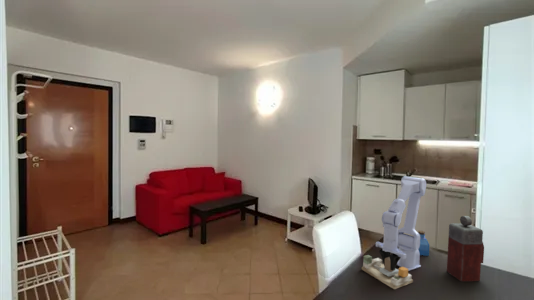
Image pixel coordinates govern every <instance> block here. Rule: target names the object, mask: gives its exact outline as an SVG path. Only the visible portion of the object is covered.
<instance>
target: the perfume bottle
mask: <svg viewBox="0 0 534 300" xmlns="http://www.w3.org/2000/svg"><path fill="white" fill-rule="evenodd" d="M417 232H418V233H419V235H420V247H419V249H418V250H419V253H420V256H422V255H423V256H425V257H430V243H429V241H428V239H427V238H426V232H425V231H423V230H418V231H417Z"/></svg>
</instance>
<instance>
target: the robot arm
mask: <svg viewBox="0 0 534 300" xmlns="http://www.w3.org/2000/svg"><path fill="white" fill-rule="evenodd" d="M400 185H401V186H400V187H401V189H400V191H399V194H398V196H397V198H395V199H393V201H392V202H391V204H390V205H389V207H388V209H387V210H386V211H384V212H383V213H382V216H381V222H382V227H383V242H380V241H376V242H375V247H376V248H380V249H379V250H378V252H379V254H380V256H381V260H382V264H384V266H385V258H387V257H390V262H391V270H395V268H396V267H397V266H398V267H399V268H401V267H405V268H407V269H408V272H409V271H410V272H411V271H412V270H415V269H419V268H421V267H422V265H421V264H420V258H421V257H420V256H421V255H420V253H419V250H418V249H419V247H420V235H419V233H418V231H417V230H416V225H417V221H418V214H419V213H418V212H419V208H420V203H421V198H422V197H424V196H425V194H426V190H427V181H426V179H425V178H423V177H415V176H408V175H404V176H402V177H401V180H400ZM407 200H408V203H407V204H406V202H407ZM405 209H406V214H405V217H404V218H405V219H404V222H403V223H404V224H403V227H400V224H401V222H402V218H403V216H402V215H403V213H404V211H405ZM399 227H400V228H399ZM396 269H397V268H396Z"/></svg>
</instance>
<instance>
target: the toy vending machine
mask: <svg viewBox="0 0 534 300" xmlns="http://www.w3.org/2000/svg"><path fill="white" fill-rule="evenodd" d="M459 221H460V222H459V223H456V222H455V223H449V224H448V242H447V245H448V246H447V259H446V272H447V273H448V274H450V275H451V276H452V277H454V278H456V279H457V280H458V281H460V282H480V281H481V273H482V271H481V269H482V264H484V257H485V246H484V242H483V239H484V237H483V236H484V235H483V234H484V231H483V229H481V228H480V227H476V226H474V225H472V221H473V220H472V218H471V217H470V216H468V215H462V216H460V219H459Z"/></svg>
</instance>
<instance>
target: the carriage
mask: <svg viewBox="0 0 534 300" xmlns="http://www.w3.org/2000/svg"><path fill="white" fill-rule="evenodd" d="M379 271H380V272H382V273H383V274H385V275H387V276H392V275H395V274H398V271H399V268H395V270H391V262H390V257H387V258H385V266H384V267H383V268H380V269H379Z"/></svg>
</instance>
